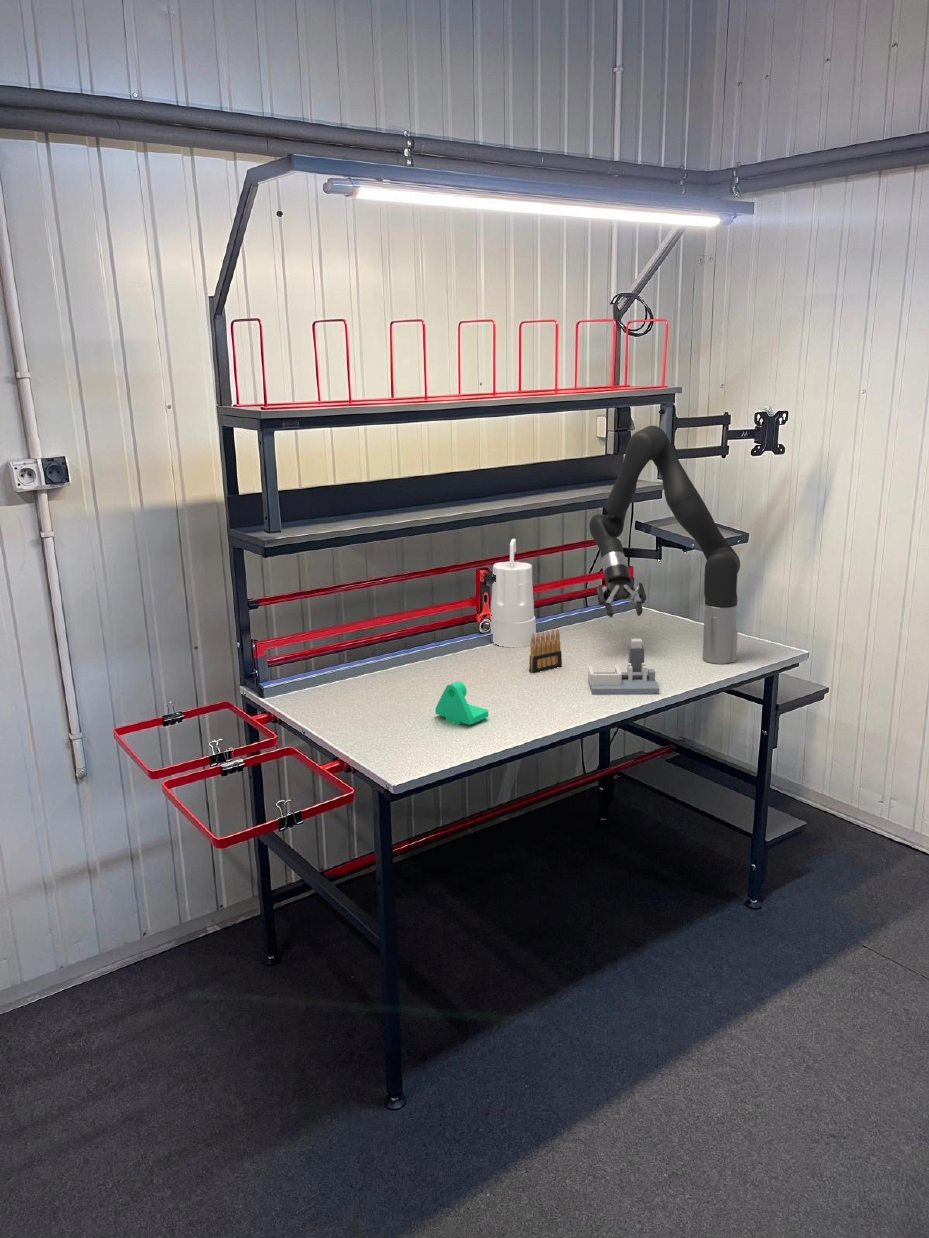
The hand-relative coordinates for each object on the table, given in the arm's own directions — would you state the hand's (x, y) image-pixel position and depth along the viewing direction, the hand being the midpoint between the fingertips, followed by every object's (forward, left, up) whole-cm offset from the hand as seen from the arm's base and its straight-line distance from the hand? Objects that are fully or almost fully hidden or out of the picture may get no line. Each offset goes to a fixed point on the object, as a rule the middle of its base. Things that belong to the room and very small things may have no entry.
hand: (625, 615), depth 269 cm
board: (+3, +22, -14) cm, 27 cm away
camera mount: (+46, +46, -15) cm, 67 cm away
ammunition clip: (+24, +7, -15) cm, 29 cm away
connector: (-2, +11, -14) cm, 18 cm away
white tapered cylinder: (+34, -23, -15) cm, 44 cm away
